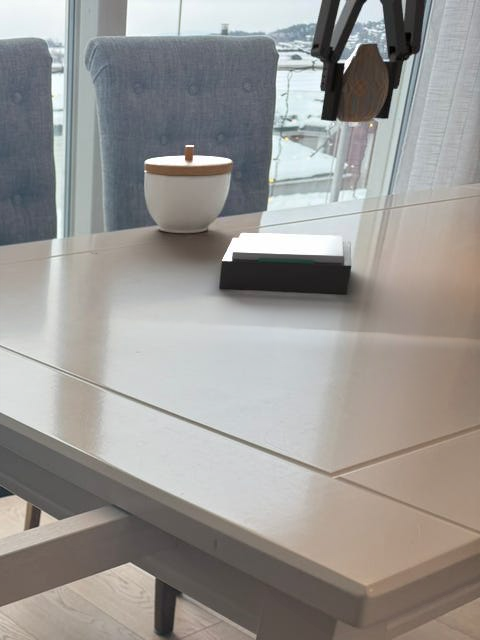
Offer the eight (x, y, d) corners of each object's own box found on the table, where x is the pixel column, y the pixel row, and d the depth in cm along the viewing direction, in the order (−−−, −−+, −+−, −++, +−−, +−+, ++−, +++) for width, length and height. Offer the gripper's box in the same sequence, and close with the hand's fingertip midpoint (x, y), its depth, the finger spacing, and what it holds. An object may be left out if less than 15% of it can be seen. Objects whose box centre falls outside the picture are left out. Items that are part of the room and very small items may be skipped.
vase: (318, 122, 125) (329, 44, 120) (345, 119, 129) (357, 44, 124) (365, 123, 120) (378, 43, 116) (392, 120, 124) (406, 42, 120)
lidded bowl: (241, 227, 139) (251, 143, 133) (197, 240, 131) (205, 152, 125) (170, 218, 146) (176, 139, 140) (123, 230, 138) (128, 147, 132)
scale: (345, 267, 115) (351, 234, 113) (346, 294, 103) (353, 258, 101) (230, 263, 118) (233, 231, 116) (218, 288, 107) (222, 253, 105)
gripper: (444, -95, 117) (404, 114, 129) (299, -95, 114) (273, 120, 126) (482, -103, 111) (437, 118, 123) (330, -103, 107) (299, 123, 120)
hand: (354, 118), depth 125 cm, fingers closed on vase, 7 cm apart
